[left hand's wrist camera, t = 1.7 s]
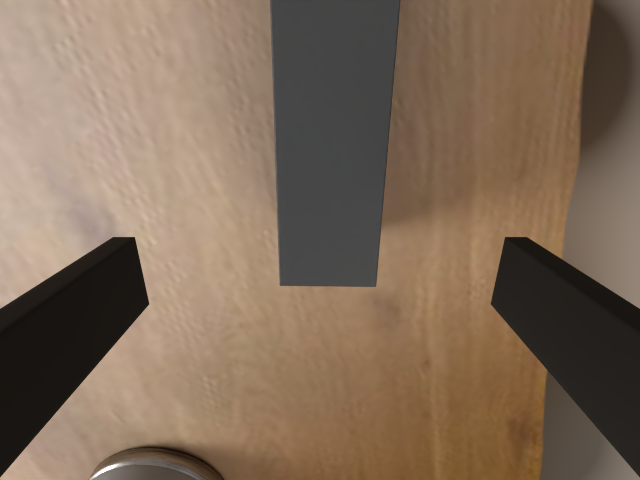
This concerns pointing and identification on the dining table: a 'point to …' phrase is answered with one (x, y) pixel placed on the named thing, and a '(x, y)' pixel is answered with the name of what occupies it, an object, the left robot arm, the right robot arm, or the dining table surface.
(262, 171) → the dining table surface
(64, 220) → the dining table surface
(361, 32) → the bar
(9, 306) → the left robot arm
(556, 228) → the dining table surface
